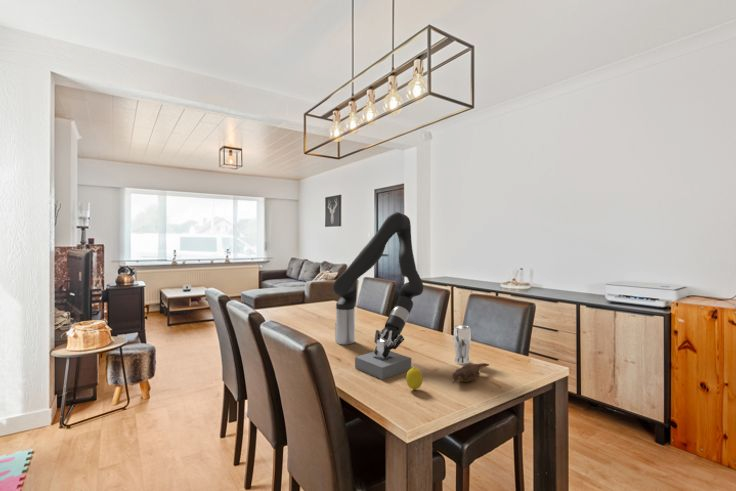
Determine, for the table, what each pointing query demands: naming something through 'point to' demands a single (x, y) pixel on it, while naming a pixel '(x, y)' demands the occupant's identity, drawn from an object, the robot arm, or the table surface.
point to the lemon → (414, 378)
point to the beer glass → (462, 344)
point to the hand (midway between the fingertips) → (379, 355)
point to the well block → (383, 364)
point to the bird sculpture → (468, 372)
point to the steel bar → (381, 349)
